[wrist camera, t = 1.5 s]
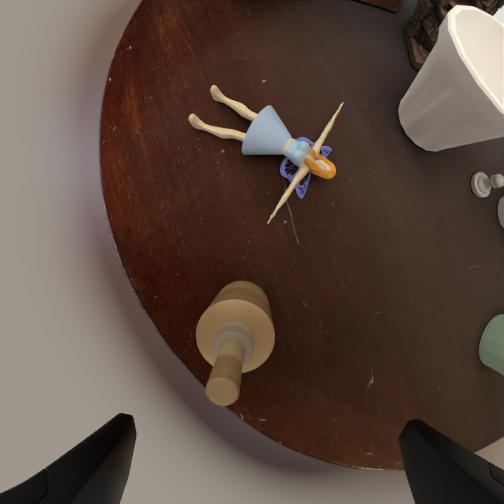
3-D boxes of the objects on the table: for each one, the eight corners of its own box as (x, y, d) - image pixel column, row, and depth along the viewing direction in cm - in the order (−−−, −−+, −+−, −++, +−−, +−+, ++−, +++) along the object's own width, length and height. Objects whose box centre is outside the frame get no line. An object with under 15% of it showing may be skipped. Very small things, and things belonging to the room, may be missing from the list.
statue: (411, 70, 23) (519, -49, 3) (394, 22, 23) (467, -96, 3) (460, 82, 23) (570, -4, 3) (442, 35, 23) (525, -58, 3)
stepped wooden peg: (251, 356, 16) (247, 418, 10) (215, 352, 16) (193, 411, 10) (254, 322, 16) (253, 371, 10) (218, 318, 16) (195, 364, 10)
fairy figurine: (236, 42, 20) (374, 105, 19) (244, 72, 25) (360, 130, 23) (151, 153, 20) (296, 238, 19) (174, 171, 25) (294, 243, 24)
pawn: (467, 186, 24) (491, 180, 20) (474, 167, 23) (498, 160, 19) (482, 203, 24) (507, 199, 20) (489, 184, 23) (513, 178, 19)
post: (266, 336, 24) (270, 376, 16) (213, 330, 24) (194, 368, 16) (272, 283, 24) (279, 303, 16) (217, 277, 24) (198, 294, 16)
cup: (357, 101, 24) (419, 13, 10) (420, 66, 23) (484, -2, 10) (422, 191, 24) (525, 161, 11) (476, 144, 23) (562, 106, 10)
